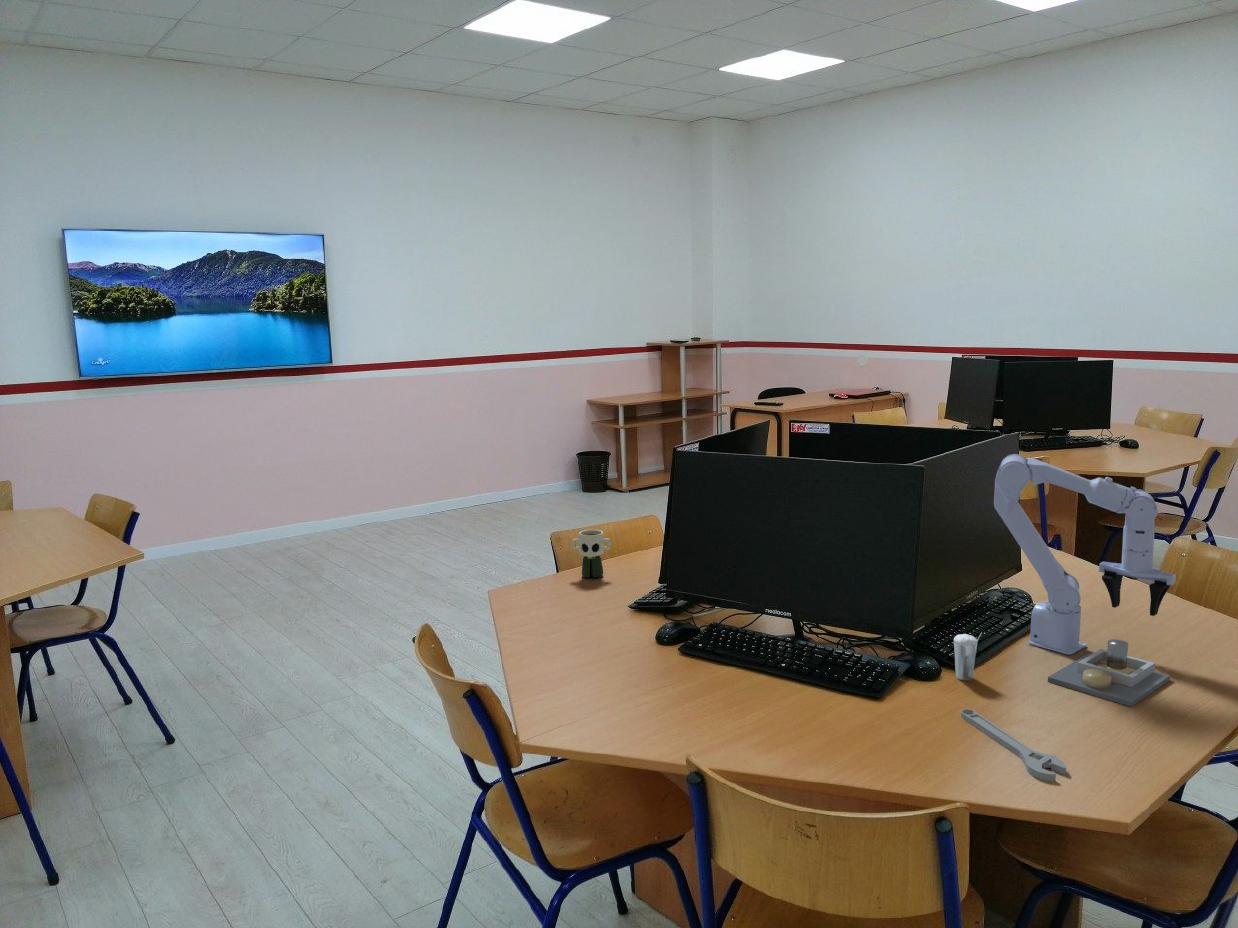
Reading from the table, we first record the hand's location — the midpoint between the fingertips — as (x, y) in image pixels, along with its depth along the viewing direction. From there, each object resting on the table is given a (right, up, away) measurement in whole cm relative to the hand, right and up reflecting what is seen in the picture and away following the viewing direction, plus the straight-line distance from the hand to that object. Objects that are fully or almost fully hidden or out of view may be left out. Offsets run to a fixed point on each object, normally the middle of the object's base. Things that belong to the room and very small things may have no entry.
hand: (1134, 610), depth 197 cm
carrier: (-11, -12, -11) cm, 20 cm away
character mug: (-117, -1, +69) cm, 136 cm away
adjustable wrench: (-41, -19, -35) cm, 57 cm away
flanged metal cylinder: (-9, -11, -9) cm, 17 cm away
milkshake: (-39, -13, -7) cm, 41 cm away
